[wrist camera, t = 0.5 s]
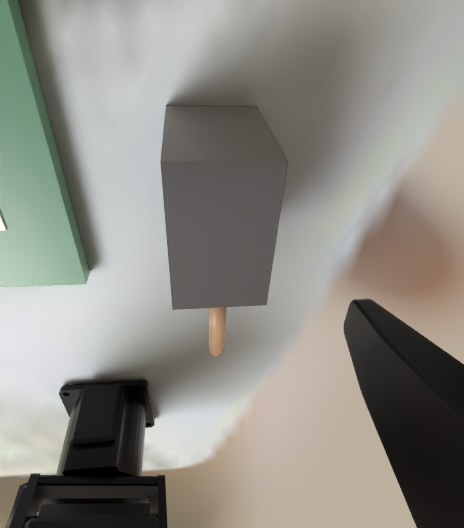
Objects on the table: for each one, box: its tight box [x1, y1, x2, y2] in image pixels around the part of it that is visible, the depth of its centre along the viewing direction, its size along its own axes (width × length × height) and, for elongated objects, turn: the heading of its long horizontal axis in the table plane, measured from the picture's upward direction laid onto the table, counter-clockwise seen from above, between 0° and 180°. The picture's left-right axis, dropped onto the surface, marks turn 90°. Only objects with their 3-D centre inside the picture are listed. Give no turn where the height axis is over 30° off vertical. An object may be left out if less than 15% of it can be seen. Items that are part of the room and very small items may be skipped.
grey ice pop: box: [161, 105, 288, 356], centre depth 17 cm, size 11×4×6 cm, turn 177°
